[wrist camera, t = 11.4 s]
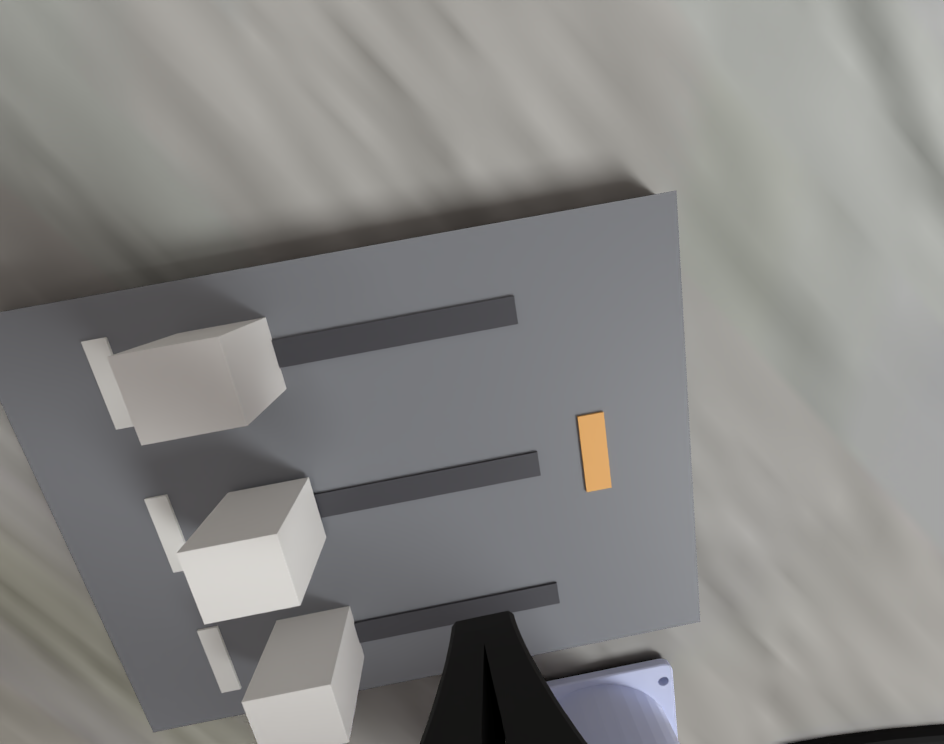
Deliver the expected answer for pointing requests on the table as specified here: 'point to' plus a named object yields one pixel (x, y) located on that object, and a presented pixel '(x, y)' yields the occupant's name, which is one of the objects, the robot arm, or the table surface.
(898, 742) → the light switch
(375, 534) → the breaker panel
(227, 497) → the handle
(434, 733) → the robot arm
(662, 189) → the table surface
